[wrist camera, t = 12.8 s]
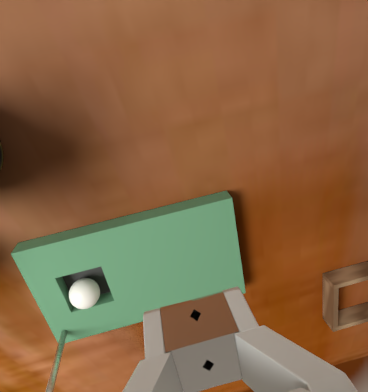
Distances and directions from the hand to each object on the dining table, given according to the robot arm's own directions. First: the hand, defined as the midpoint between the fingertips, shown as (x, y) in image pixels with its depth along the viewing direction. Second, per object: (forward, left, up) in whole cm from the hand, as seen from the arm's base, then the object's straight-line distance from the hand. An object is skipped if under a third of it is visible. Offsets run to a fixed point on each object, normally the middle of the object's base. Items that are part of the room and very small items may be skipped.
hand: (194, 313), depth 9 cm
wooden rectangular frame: (-29, +34, -29) cm, 53 cm away
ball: (+13, +18, -27) cm, 35 cm away
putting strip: (+5, +18, -29) cm, 35 cm away
